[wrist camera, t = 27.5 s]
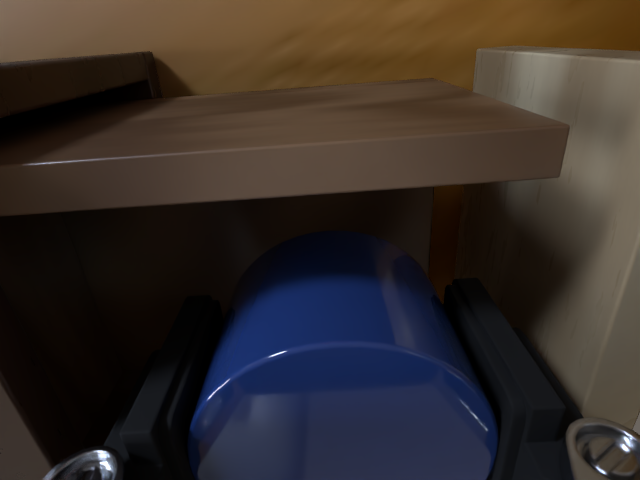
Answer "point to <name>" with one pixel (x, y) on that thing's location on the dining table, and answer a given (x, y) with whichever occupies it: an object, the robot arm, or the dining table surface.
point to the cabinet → (3, 324)
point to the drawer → (331, 210)
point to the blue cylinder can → (340, 373)
